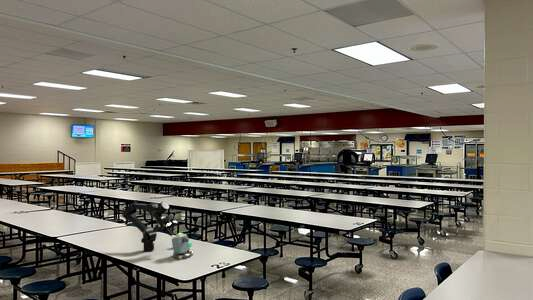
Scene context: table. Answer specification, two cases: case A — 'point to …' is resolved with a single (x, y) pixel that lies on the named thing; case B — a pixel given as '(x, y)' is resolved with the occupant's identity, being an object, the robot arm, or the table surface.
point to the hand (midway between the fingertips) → (172, 235)
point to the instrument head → (180, 243)
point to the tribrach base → (183, 255)
